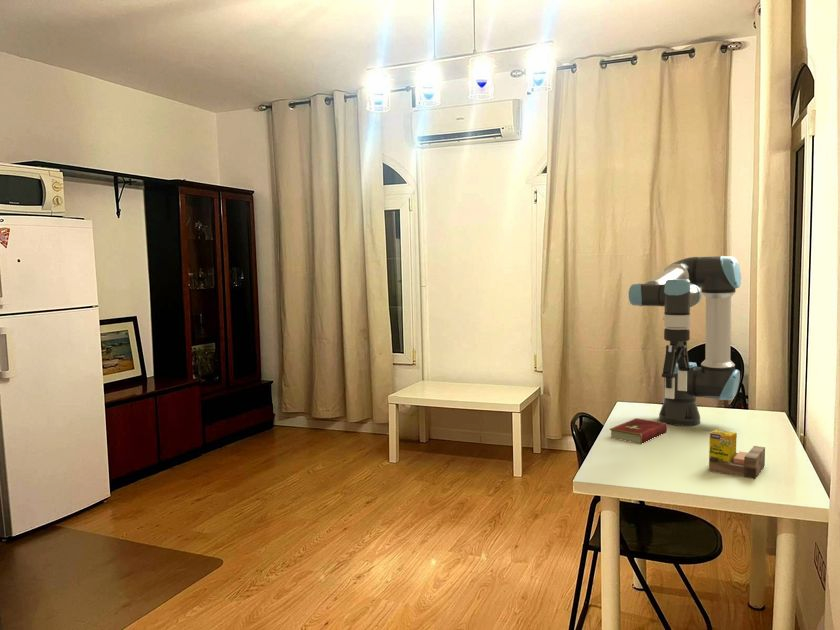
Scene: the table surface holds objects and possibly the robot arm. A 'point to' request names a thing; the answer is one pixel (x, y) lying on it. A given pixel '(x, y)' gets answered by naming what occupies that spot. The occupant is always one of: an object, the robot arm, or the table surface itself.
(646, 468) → the table surface
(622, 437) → the hardcover book
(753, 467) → the dock
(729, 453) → the supplement box
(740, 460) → the block
